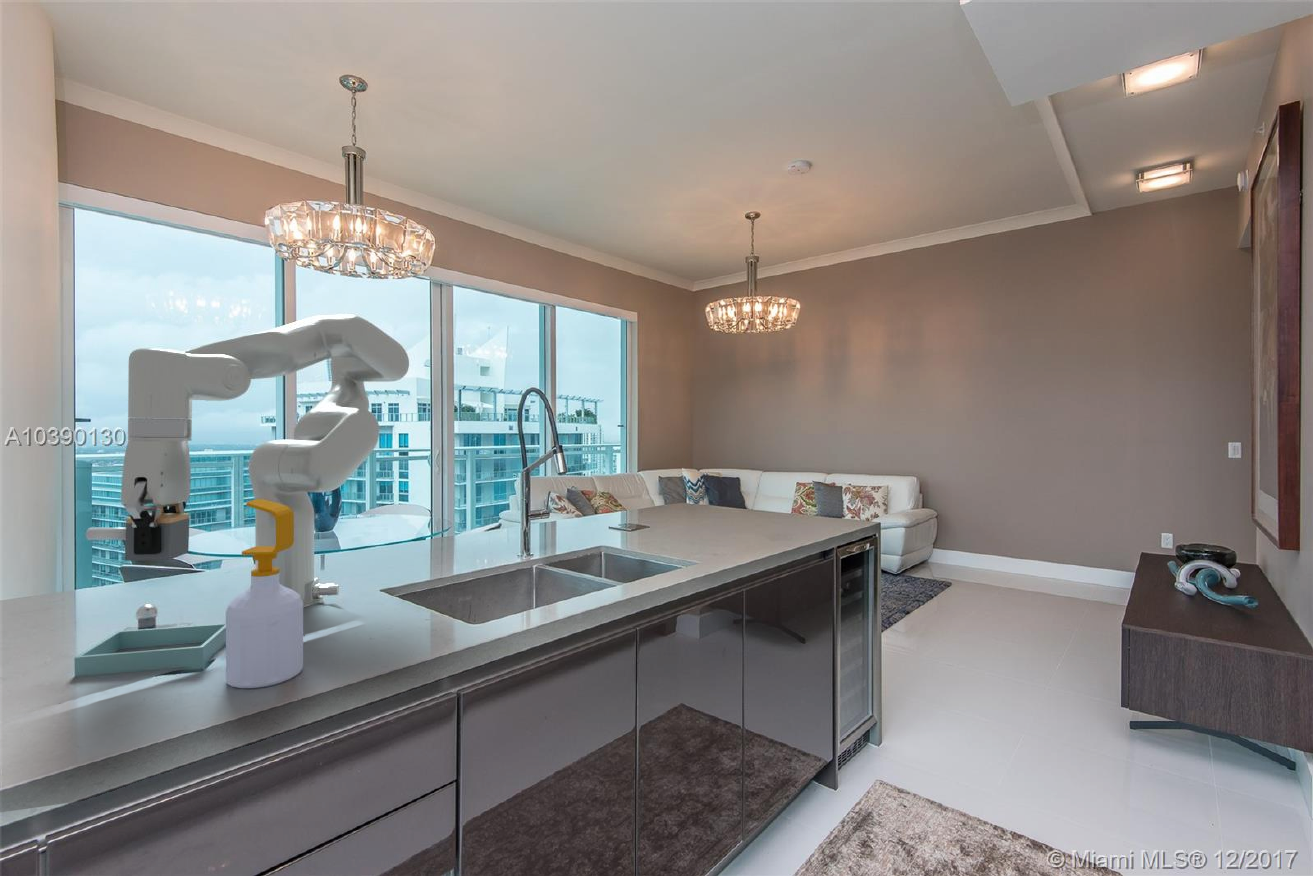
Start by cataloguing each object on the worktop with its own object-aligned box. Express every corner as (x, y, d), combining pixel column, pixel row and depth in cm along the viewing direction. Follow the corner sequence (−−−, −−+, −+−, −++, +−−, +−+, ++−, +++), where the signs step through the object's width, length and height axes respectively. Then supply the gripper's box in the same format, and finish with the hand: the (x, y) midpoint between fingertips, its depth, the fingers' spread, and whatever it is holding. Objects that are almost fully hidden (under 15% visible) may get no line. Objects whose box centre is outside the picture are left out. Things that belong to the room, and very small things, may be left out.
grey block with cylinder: (188, 552, 96) (189, 513, 96) (169, 560, 91) (170, 518, 91) (101, 553, 94) (102, 513, 94) (76, 561, 88) (77, 518, 88)
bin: (230, 645, 96) (230, 623, 96) (203, 671, 86) (202, 647, 86) (117, 654, 92) (117, 631, 92) (74, 683, 82) (74, 657, 82)
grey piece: (192, 628, 103) (192, 595, 103) (167, 647, 95) (167, 611, 94) (127, 633, 100) (127, 598, 100) (96, 653, 92) (95, 615, 92)
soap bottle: (249, 663, 89) (249, 496, 88) (314, 662, 90) (314, 496, 89) (210, 690, 80) (209, 504, 79) (282, 689, 81) (282, 505, 80)
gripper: (162, 430, 100) (161, 540, 100) (94, 431, 83) (92, 562, 84) (215, 431, 102) (213, 539, 102) (157, 432, 85) (156, 561, 85)
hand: (159, 548), depth 93 cm, fingers closed on grey block with cylinder, 5 cm apart
